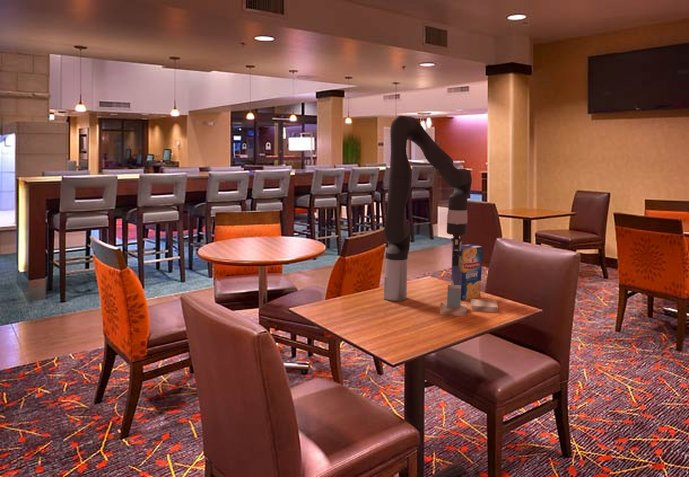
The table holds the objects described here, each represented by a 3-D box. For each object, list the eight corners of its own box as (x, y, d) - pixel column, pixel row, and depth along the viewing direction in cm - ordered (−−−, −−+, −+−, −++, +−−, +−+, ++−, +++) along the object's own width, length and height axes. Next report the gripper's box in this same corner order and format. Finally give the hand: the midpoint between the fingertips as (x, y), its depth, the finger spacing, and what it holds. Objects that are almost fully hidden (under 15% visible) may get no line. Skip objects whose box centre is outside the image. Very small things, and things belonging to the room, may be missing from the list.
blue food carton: (480, 297, 235) (482, 246, 231) (461, 300, 229) (463, 248, 226) (469, 293, 241) (471, 244, 237) (450, 296, 235) (452, 246, 232)
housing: (446, 308, 211) (447, 287, 210) (447, 304, 216) (447, 284, 215) (460, 308, 210) (461, 288, 209) (459, 305, 215) (460, 285, 214)
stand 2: (471, 310, 215) (471, 305, 215) (470, 303, 225) (470, 298, 225) (497, 312, 213) (498, 307, 213) (495, 305, 223) (496, 300, 223)
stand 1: (439, 314, 210) (440, 309, 210) (440, 307, 220) (440, 302, 219) (466, 316, 208) (466, 311, 208) (466, 308, 218) (466, 303, 217)
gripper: (447, 218, 216) (445, 259, 218) (446, 223, 202) (445, 266, 204) (466, 219, 214) (465, 260, 217) (467, 224, 200) (465, 267, 203)
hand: (455, 263), depth 211 cm, fingers open, 8 cm apart
